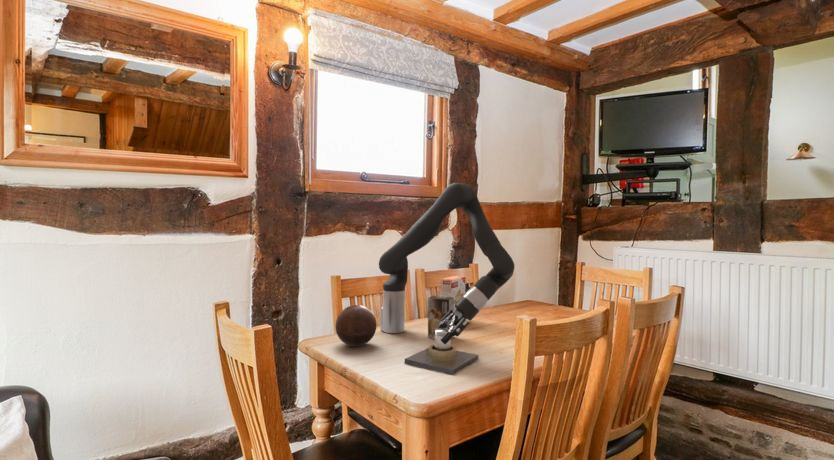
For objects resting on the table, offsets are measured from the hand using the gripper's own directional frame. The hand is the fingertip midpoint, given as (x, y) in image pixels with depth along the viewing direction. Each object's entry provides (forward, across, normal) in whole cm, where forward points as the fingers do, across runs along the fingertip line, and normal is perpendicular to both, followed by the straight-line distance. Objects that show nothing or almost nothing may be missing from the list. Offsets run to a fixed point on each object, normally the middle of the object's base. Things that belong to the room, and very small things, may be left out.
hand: (438, 338), depth 148 cm
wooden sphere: (+23, -24, -12) cm, 35 cm away
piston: (+3, 0, +5) cm, 6 cm away
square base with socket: (+4, 0, +6) cm, 8 cm away
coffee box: (-1, -28, +13) cm, 31 cm away
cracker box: (-10, -48, +21) cm, 54 cm away
